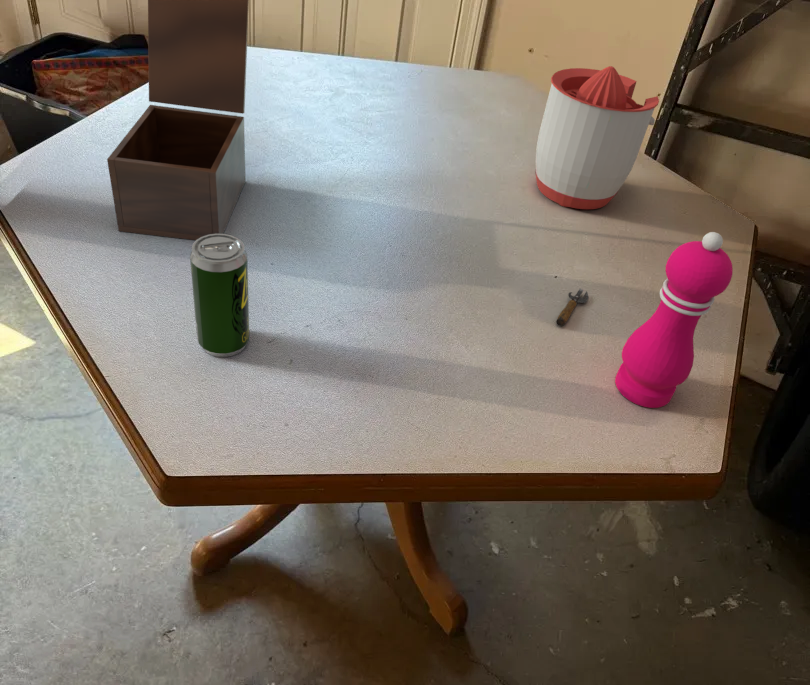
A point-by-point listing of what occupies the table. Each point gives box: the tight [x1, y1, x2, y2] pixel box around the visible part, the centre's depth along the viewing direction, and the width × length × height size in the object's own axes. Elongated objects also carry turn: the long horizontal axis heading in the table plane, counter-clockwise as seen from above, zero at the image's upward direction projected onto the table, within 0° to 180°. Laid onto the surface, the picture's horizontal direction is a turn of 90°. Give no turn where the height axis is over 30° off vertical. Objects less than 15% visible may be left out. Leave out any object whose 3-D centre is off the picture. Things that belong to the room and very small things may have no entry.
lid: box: [147, 0, 250, 114], centre depth 92 cm, size 17×13×1 cm
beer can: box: [189, 233, 250, 358], centre depth 71 cm, size 5×5×12 cm
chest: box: [106, 104, 246, 241], centre depth 92 cm, size 17×13×10 cm
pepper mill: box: [614, 231, 734, 409], centre depth 71 cm, size 7×7×20 cm
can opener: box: [555, 288, 589, 327], centre depth 87 cm, size 9×2×1 cm, turn 145°
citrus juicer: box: [534, 65, 660, 210], centre depth 106 cm, size 16×17×20 cm
